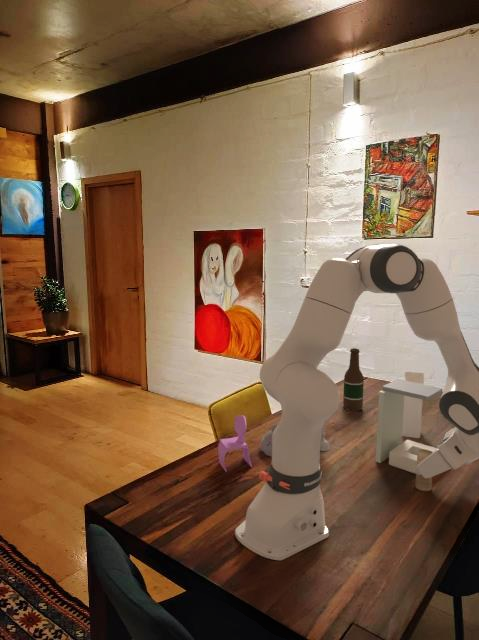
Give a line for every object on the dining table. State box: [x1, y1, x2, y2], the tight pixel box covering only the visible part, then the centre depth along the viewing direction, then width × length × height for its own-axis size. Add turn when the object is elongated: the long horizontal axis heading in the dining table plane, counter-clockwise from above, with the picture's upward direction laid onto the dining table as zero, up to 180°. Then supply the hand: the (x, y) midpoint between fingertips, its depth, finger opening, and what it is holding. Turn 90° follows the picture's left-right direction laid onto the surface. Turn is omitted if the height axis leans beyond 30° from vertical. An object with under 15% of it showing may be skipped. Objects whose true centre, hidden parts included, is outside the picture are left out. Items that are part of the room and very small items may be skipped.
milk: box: [402, 371, 425, 439], centre depth 159 cm, size 6×6×22 cm
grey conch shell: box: [260, 423, 280, 458], centre depth 147 cm, size 12×12×11 cm
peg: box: [414, 449, 433, 492], centre depth 125 cm, size 4×4×10 cm
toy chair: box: [217, 414, 253, 473], centre depth 138 cm, size 8×9×15 cm
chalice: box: [320, 420, 331, 452], centre depth 149 cm, size 7×7×18 cm
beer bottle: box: [342, 348, 365, 412], centre depth 184 cm, size 8×8×24 cm
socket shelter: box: [375, 378, 444, 475], centre depth 139 cm, size 14×16×23 cm
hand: (422, 467), depth 125 cm, fingers closed on peg, 4 cm apart
